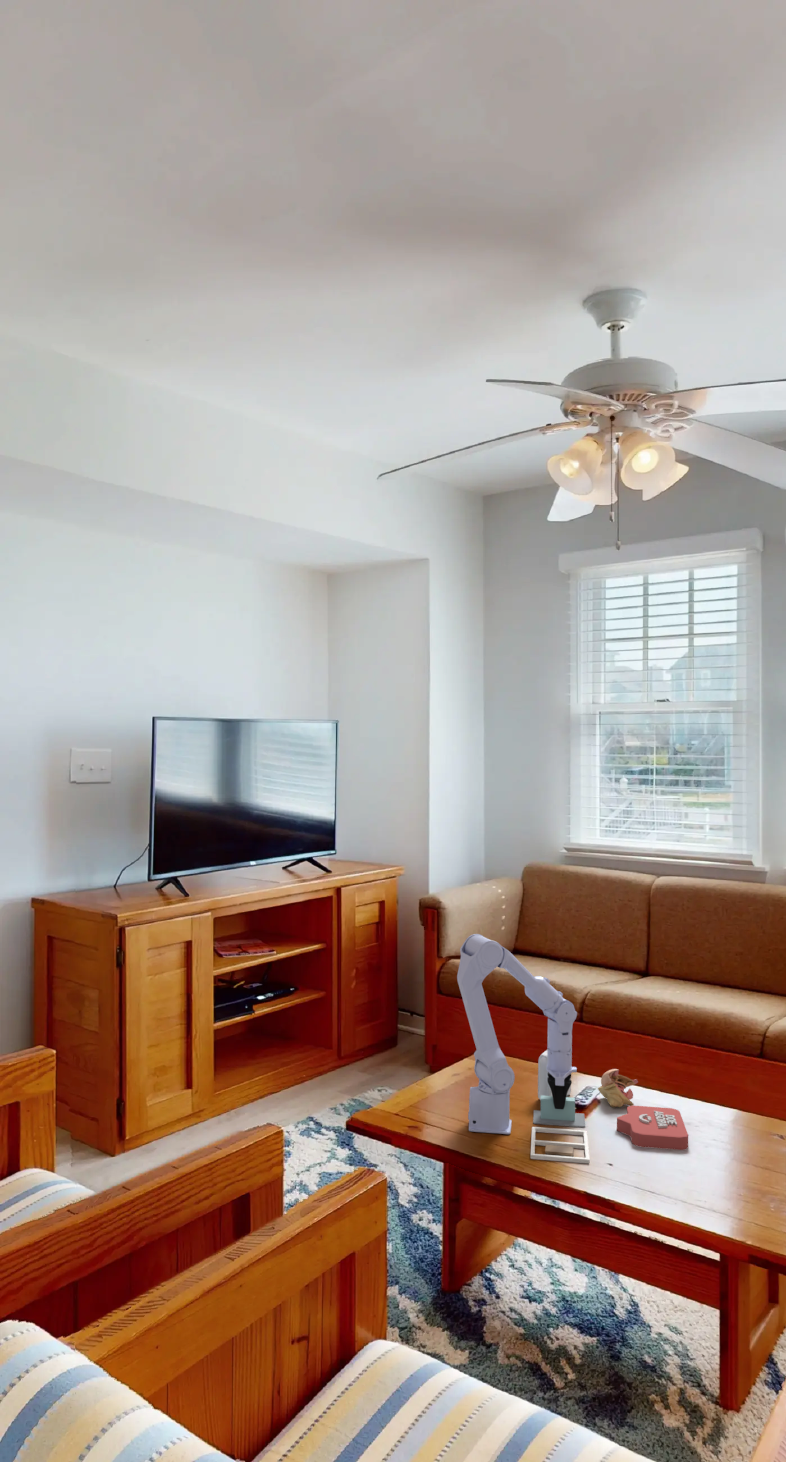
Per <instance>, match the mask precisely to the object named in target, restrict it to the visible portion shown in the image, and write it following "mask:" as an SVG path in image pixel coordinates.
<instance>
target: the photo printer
mask: <svg viewBox="0 0 786 1462" xmlns="http://www.w3.org/2000/svg"><path fill="white" fill-rule="evenodd" d="M537 1061H538V1064H537V1066H538V1067H537V1070H538V1071H537V1097H538V1099H539V1100H540V1101H541V1095H542V1096H552V1091H551V1088H550V1086H549V1084H548V1081H547V1077H548V1071H547V1070H546V1067H547V1049H546V1050H544V1052H542V1053H541V1054H540V1056H539V1057H538V1059H537ZM570 1080H572V1077H571V1078H570ZM571 1092H572V1085H571V1086H570V1087H569V1089H568V1092H567V1096H569V1095H571V1094H572V1093H571Z"/></svg>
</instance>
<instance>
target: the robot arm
mask: <svg viewBox="0 0 786 1462" xmlns="http://www.w3.org/2000/svg"><path fill="white" fill-rule="evenodd" d="M459 951H460V952H459V953H460V959H459V964H458V971H457V975H456V980H457V984H458V987H459V991H460V994H461V995H460V996H461V997H462V1002H463V1005H464V1009H465V1013H466V1017H467V1020H468V1023H469V1027H470V1031H471V1034H472V1038H473V1042H474V1044H475V1048H476V1050H475V1051H474V1053H473V1056H474V1067H473V1069H474V1074H475V1076H476V1077H477V1078H478V1085H477V1086H470V1088H469V1098H468V1100H469V1101H468V1104H469V1105H468V1114H467V1116H468V1117H467V1119H468V1131H469V1132H475V1133H487V1134H500V1135H501V1134H503V1135H510V1134H511V1131H512V1124H513V1123H512V1119H510V1099H511V1098H510V1096H511V1093H510V1092H511V1088H512V1087H513V1085H514V1083H515V1072H514V1070H513V1069H512V1067H510V1065H509V1064H508V1061H507V1058H506V1056H505V1054H504V1053H503V1051H502V1050H501V1047H500V1045H499V1042H498V1039H497V1035H496V1032H495V1028H494V1024H493V1020H492V1017H491V1011H490V1010H489V1007H488V1002H487V998H486V996H485V992H484V988H483V984H482V983H483V981H484V980H485V979H486V977H487V976H488V975H489V974H491V973H492V972H493V971H494V970H495V969H496V968H499V969H504V970H505V971H507V973H509V974H510V976H512V977H513V978H514V979H516V981H518V982H519V983H520V984H521V985H522V986H524V993H525V996H526V997H528V999H530V1001H532V1002H533V1003H534V1004H535V1005H536V1006H537V1007H539V1009H540V1010H542V1012H543V1015H544V1016H545V1017H547V1046H546V1047H547V1049H546V1050H547V1067H546V1070H547V1071H548V1077H547V1081H548V1084H549V1086H550V1088H551V1091H552V1096H553V1103H554V1107H555V1109H564V1106H565V1101H566V1097H568V1095H567V1092H568V1089H569V1087H570V1086H571V1087H572V1073H577V1072H578V1071H577V1069H578V1068H577V1066H572V1064H573V1063H572V1062H573V1059H572V1058H573V1055H572V1053H573V1046H572V1045H573V1024H574V1022H575V1020H576V1019H577V1016H578V1012H577V1011H576V1008H575V1006H574V1004H573V1002H572V1001H570V1000H568V999H565V998H564V997H563V995H564V993H563V992H561V991H559V990H557V989H555V987H554V986H552V985H551V984H550V982H551V979H549V978H547V977H545V976H544V977H542V976H541V975H536V976H534V975H533V974H532V973H531V972H530V970H529V969H527V967H525V965H523V963H521V961H520V960H518V958H517V957H516V956H514V954H513V953H511V951H509V950H508V949H507V948H505V947H504V946H502V945H501V943H499V941H498V942H497V941H495V940H493V939H489V938H488V937H485V936H484V935H482V934H479V933H474V934H473V933H472V934H470V935H469V936H468V937H467V938H466V939H465V940H464V942H463V943H462V945H461V946H460V948H459ZM570 1078H571V1080H570Z"/></svg>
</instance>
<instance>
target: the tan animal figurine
mask: <svg viewBox="0 0 786 1462" xmlns="http://www.w3.org/2000/svg"><path fill="white" fill-rule="evenodd" d="M619 1071H620V1070H619V1069H617V1068H612V1069H608V1070H607V1071H606V1072H604V1073H603V1074H602V1076H601V1078H600V1083H601V1086H598V1088H597V1090H598V1091H599V1093H600V1094H601V1095H602V1096H603V1097H604V1098H605V1099H607V1102H608V1103H609V1106H610V1107H612V1108H616V1107H617V1108H621V1107H623V1106H624V1105H626V1106H635V1104H634V1103H633V1102H632V1101H631V1100H632V1099H633V1098H634V1092H633V1090H632V1089H631V1088H629V1089H628V1090H627V1091H626V1092H625V1090H626V1089H627V1088H628V1087H631V1086H634V1085H636V1084H638V1083H639V1081H638V1079H637V1078H636V1079H631V1078H629V1077H628V1076H624V1075H622V1074H619Z"/></svg>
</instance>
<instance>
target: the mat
mask: <svg viewBox="0 0 786 1462" xmlns="http://www.w3.org/2000/svg"><path fill="white" fill-rule="evenodd" d="M532 1124H535V1125H545V1126H557V1127H558V1126H559V1127H572V1128H573V1127H574V1128H584V1129H585V1128H586V1118H585V1113H579V1112H578V1113H577V1112H575V1121H568V1120H554V1119H541V1109H540V1110H539V1109H538V1110H537V1109H533V1118H532Z"/></svg>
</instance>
